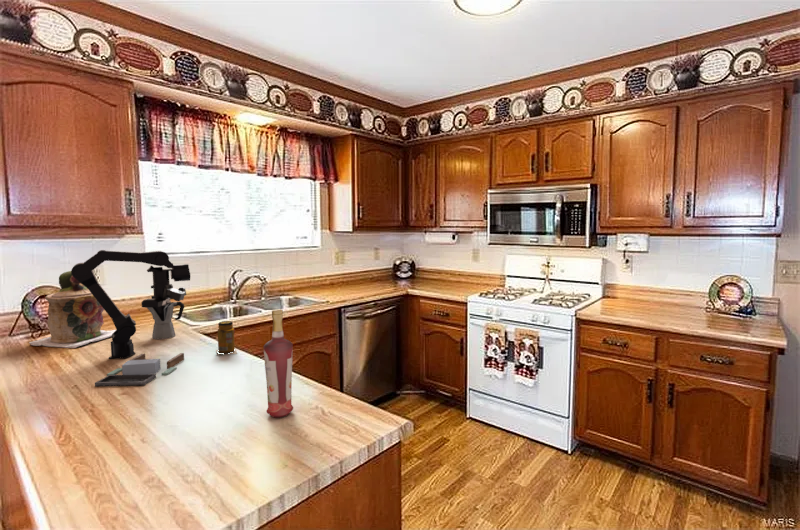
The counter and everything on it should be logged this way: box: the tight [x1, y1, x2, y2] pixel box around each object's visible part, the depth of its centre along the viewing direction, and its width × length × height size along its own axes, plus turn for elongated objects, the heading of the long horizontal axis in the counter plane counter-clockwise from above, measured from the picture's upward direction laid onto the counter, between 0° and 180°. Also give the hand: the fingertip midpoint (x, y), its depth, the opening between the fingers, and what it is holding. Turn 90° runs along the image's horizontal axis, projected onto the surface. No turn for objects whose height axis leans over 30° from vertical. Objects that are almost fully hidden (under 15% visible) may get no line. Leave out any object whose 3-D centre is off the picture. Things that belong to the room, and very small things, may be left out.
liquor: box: [263, 308, 294, 419], centre depth 109 cm, size 7×7×28 cm
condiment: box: [215, 320, 238, 356], centre depth 165 cm, size 7×8×12 cm
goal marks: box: [106, 366, 177, 376], centre depth 143 cm, size 20×6×1 cm, turn 92°
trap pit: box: [94, 373, 157, 388], centre depth 134 cm, size 15×7×1 cm, turn 92°
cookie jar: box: [28, 270, 117, 349], centre depth 183 cm, size 25×25×32 cm
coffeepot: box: [144, 301, 185, 340], centre depth 189 cm, size 15×9×18 cm, turn 118°
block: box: [121, 358, 161, 375], centre depth 143 cm, size 10×5×4 cm, turn 103°
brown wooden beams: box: [124, 352, 185, 370], centre depth 151 cm, size 15×10×2 cm, turn 92°
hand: (163, 320), depth 167 cm, fingers closed
